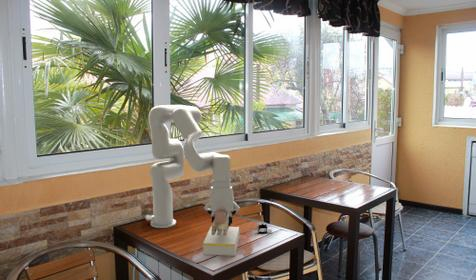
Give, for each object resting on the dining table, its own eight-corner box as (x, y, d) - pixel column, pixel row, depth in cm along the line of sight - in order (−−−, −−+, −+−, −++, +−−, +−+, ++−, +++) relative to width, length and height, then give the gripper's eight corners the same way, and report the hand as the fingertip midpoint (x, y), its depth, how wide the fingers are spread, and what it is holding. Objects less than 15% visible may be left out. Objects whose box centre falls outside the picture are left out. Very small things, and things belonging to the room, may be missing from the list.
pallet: (211, 235, 162) (211, 225, 162) (218, 218, 182) (218, 210, 181) (226, 235, 162) (226, 225, 161) (231, 219, 181) (231, 210, 181)
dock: (203, 254, 163) (203, 243, 162) (211, 236, 183) (210, 226, 183) (234, 255, 162) (234, 244, 161) (239, 237, 182) (239, 227, 181)
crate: (214, 223, 164) (214, 214, 163) (216, 220, 168) (216, 211, 167) (224, 223, 163) (224, 214, 163) (225, 220, 167) (225, 211, 167)
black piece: (250, 236, 185) (250, 226, 185) (248, 230, 192) (248, 221, 192) (276, 235, 186) (276, 225, 186) (273, 229, 194) (273, 220, 193)
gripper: (199, 185, 166) (200, 227, 169) (241, 186, 165) (241, 228, 167) (203, 181, 174) (203, 221, 176) (242, 182, 172) (242, 222, 174)
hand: (222, 224), depth 172 cm, fingers closed on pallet, 6 cm apart
